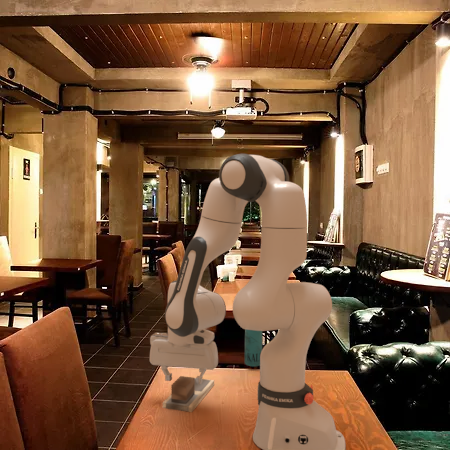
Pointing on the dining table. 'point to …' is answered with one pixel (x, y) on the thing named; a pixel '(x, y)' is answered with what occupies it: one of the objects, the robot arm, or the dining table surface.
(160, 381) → the dining table surface
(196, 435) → the dining table surface
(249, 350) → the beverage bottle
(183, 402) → the block
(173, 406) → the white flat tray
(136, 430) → the dining table surface
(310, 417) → the robot arm
